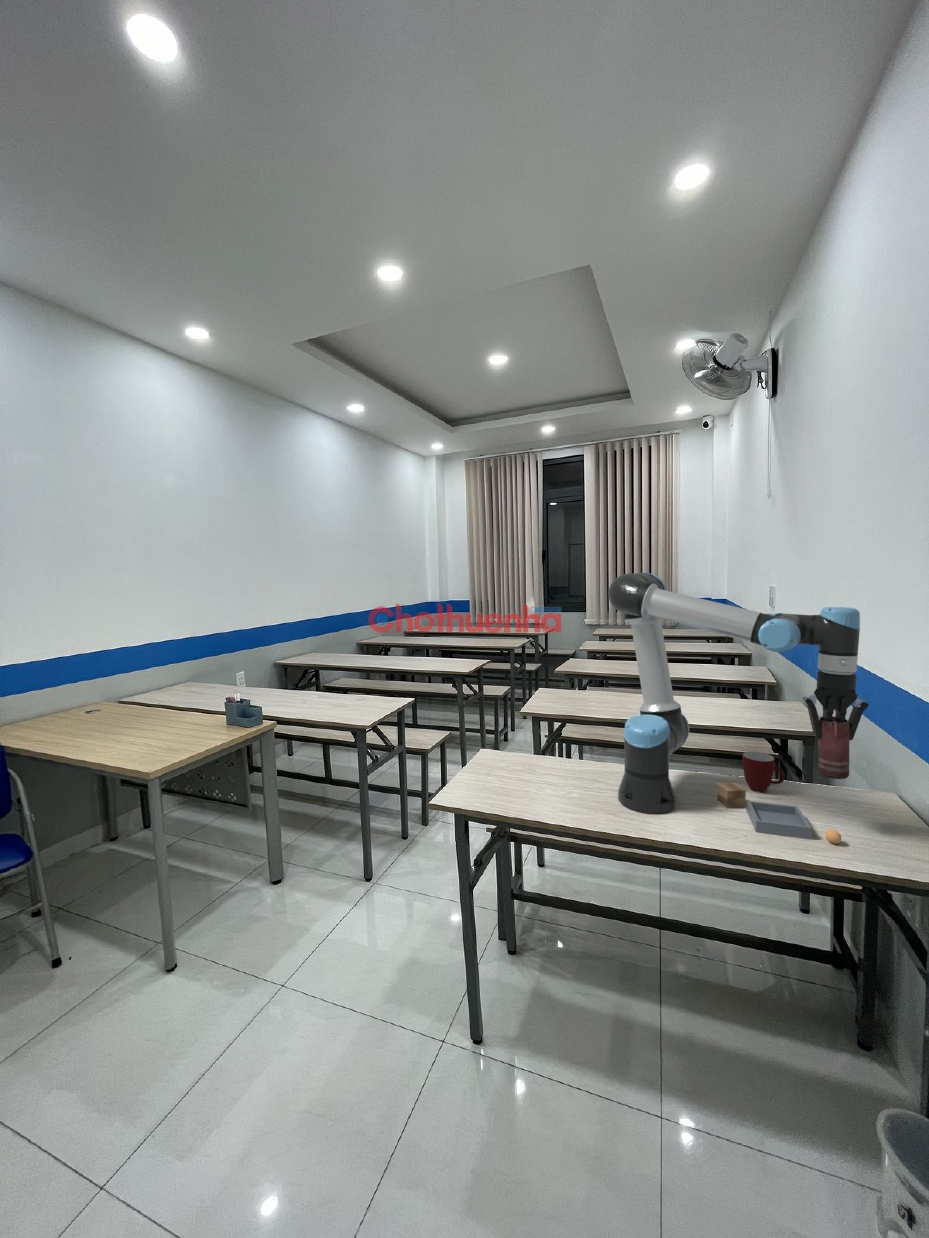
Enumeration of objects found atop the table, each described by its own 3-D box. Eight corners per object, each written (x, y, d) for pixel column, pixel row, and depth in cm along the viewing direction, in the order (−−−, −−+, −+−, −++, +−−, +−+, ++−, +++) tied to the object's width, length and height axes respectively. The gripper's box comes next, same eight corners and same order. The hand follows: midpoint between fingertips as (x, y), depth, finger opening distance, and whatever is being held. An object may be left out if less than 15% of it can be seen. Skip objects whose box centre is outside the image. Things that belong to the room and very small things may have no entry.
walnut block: (726, 808, 133) (727, 790, 132) (717, 800, 138) (717, 783, 137) (745, 808, 133) (745, 790, 132) (735, 799, 138) (735, 782, 137)
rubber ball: (827, 844, 114) (828, 832, 113) (823, 838, 117) (823, 826, 116) (843, 847, 113) (843, 834, 112) (838, 840, 115) (838, 828, 115)
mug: (780, 786, 145) (781, 754, 144) (786, 798, 137) (787, 763, 136) (739, 782, 149) (740, 750, 148) (744, 793, 141) (744, 759, 140)
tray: (755, 831, 120) (756, 821, 120) (746, 810, 131) (746, 800, 131) (811, 839, 116) (812, 828, 116) (797, 816, 127) (797, 806, 127)
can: (823, 778, 118) (823, 722, 117) (814, 768, 124) (814, 714, 123) (853, 781, 116) (854, 723, 115) (843, 770, 122) (843, 715, 121)
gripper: (809, 673, 116) (804, 768, 119) (877, 676, 112) (870, 775, 114) (799, 667, 124) (794, 757, 126) (862, 669, 119) (856, 763, 122)
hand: (830, 765), depth 120 cm, fingers closed
